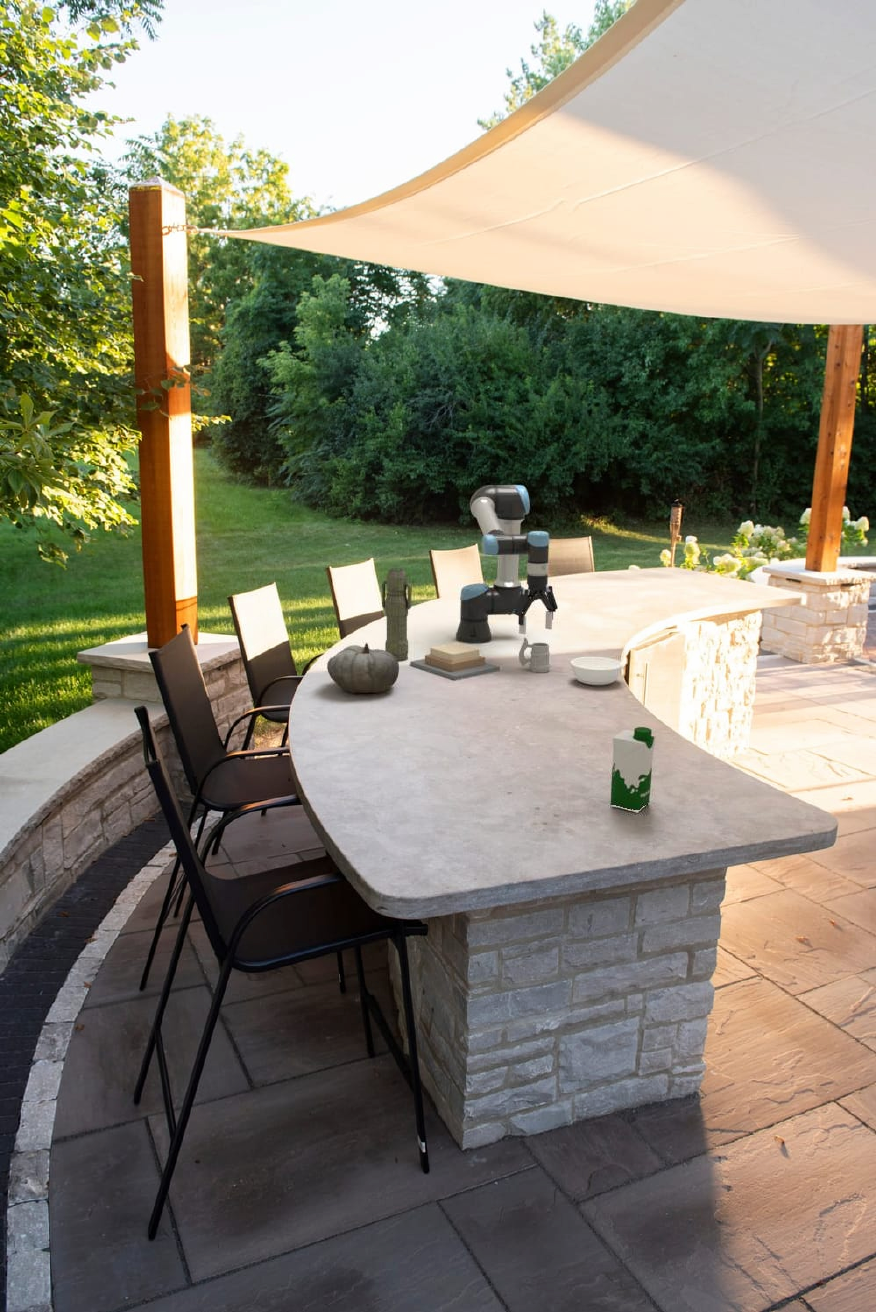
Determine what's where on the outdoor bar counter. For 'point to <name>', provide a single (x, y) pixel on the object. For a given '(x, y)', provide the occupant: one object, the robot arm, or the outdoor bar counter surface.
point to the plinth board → (457, 673)
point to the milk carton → (632, 768)
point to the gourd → (363, 669)
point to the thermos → (397, 612)
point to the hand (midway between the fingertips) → (535, 631)
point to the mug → (536, 656)
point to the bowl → (596, 670)
